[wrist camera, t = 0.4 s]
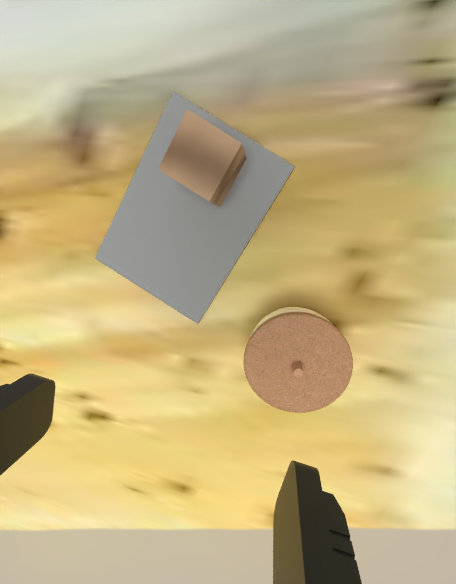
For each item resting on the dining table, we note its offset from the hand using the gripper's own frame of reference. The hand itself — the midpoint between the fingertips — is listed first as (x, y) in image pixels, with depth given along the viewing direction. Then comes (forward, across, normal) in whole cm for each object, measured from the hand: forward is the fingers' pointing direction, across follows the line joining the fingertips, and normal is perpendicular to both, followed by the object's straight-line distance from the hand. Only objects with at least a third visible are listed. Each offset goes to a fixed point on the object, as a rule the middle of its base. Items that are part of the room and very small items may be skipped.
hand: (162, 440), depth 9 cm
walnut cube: (+27, +7, -12) cm, 30 cm away
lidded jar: (+27, -7, +5) cm, 29 cm away
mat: (+27, +9, -6) cm, 29 cm away
